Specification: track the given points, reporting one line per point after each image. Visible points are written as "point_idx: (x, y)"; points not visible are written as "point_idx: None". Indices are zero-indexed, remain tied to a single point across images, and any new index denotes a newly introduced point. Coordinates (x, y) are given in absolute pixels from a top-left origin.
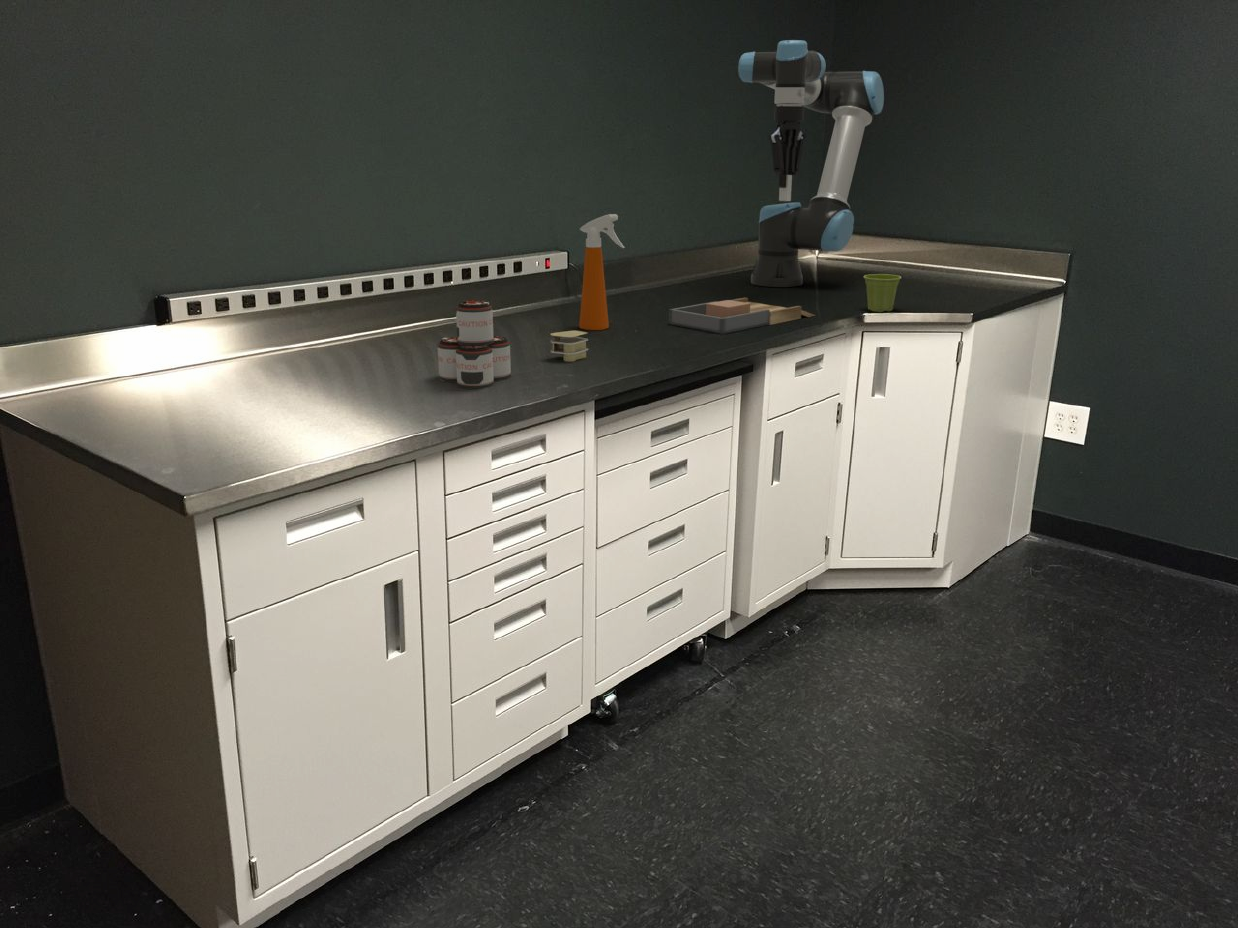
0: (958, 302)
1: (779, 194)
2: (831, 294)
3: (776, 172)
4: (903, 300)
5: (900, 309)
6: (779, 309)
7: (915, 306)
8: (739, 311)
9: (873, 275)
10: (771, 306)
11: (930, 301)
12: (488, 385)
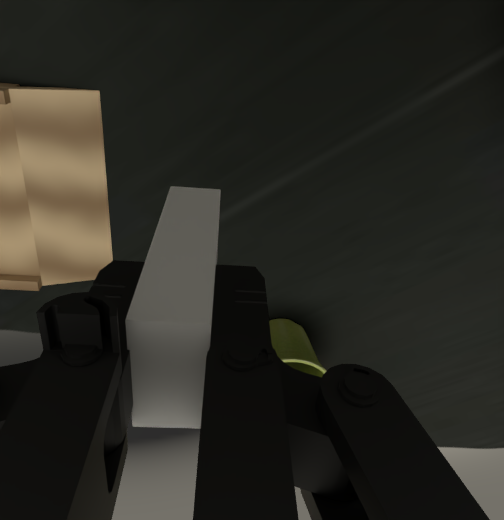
0: (477, 396)
1: (164, 209)
2: (444, 136)
3: (41, 324)
4: (444, 316)
5: (320, 359)
6: (2, 241)
7: (376, 363)
8: None
9: (312, 365)
10: (16, 202)
11: (461, 358)
12: None
